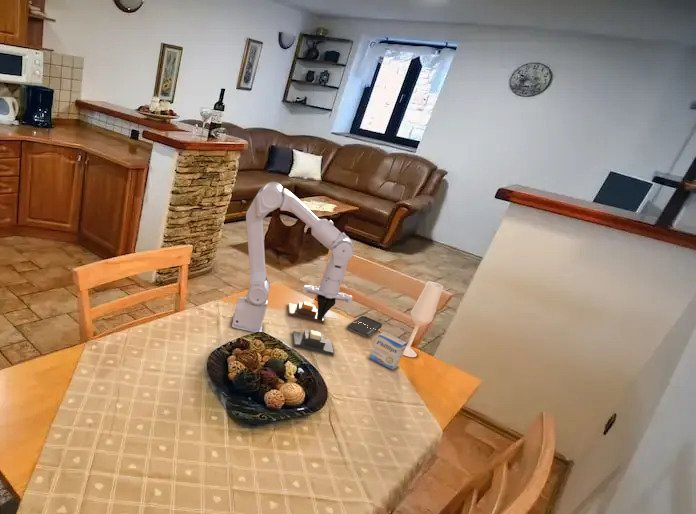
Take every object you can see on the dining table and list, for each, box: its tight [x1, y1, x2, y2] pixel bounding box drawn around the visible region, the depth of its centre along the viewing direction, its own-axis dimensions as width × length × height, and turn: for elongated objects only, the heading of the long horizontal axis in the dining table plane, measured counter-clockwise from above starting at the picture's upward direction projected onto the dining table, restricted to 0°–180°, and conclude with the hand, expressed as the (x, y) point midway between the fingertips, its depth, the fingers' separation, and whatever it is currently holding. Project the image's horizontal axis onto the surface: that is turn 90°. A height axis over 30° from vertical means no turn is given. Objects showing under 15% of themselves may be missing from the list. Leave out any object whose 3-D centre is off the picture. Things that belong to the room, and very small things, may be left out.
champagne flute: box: [402, 280, 444, 358], centre depth 158 cm, size 7×7×24 cm
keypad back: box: [287, 301, 325, 324], centre depth 175 cm, size 12×9×3 cm
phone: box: [346, 315, 383, 338], centre depth 175 cm, size 8×1×15 cm
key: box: [309, 329, 322, 340], centre depth 154 cm, size 3×3×2 cm
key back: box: [302, 300, 314, 310], centre depth 174 cm, size 3×3×2 cm
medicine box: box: [368, 331, 408, 371], centre depth 152 cm, size 8×4×9 cm, turn 47°
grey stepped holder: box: [292, 329, 335, 357], centre depth 155 cm, size 12×9×3 cm
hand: (319, 318), depth 153 cm, fingers closed
